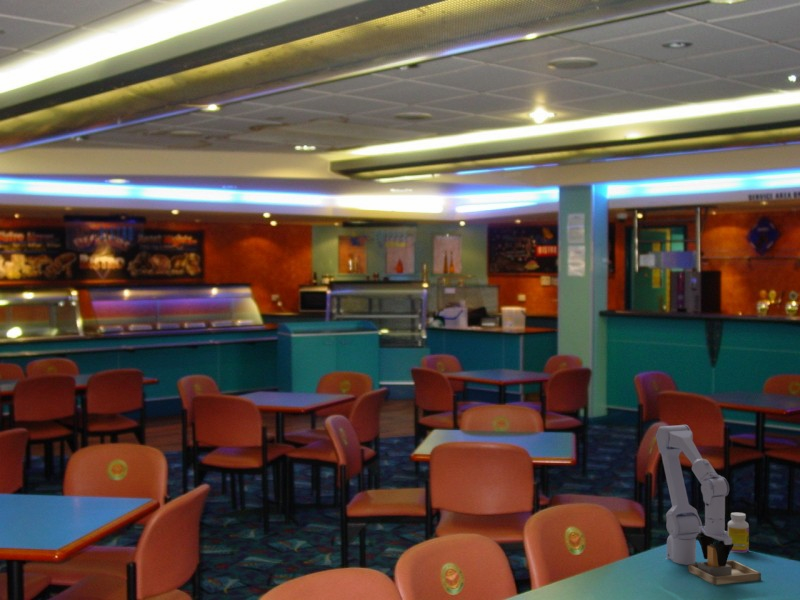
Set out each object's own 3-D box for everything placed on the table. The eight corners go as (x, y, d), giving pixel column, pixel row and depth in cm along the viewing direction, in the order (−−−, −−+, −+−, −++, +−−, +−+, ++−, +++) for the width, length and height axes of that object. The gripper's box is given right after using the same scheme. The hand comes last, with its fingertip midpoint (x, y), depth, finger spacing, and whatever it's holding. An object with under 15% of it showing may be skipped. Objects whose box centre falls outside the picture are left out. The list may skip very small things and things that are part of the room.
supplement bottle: (750, 555, 328) (750, 516, 328) (728, 554, 330) (729, 516, 329) (747, 550, 335) (747, 512, 334) (726, 549, 336) (726, 511, 336)
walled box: (687, 574, 310) (687, 564, 309) (733, 569, 314) (733, 559, 314) (714, 588, 296) (714, 578, 296) (760, 583, 300) (760, 573, 300)
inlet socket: (698, 573, 306) (698, 562, 306) (719, 571, 309) (719, 560, 308) (710, 580, 300) (710, 568, 300) (731, 577, 302) (731, 566, 302)
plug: (707, 568, 305) (707, 543, 305) (718, 567, 306) (719, 542, 306) (713, 571, 303) (713, 546, 302) (724, 570, 304) (724, 545, 303)
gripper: (740, 522, 298) (740, 567, 298) (712, 511, 312) (712, 554, 312) (720, 524, 296) (719, 570, 296) (692, 512, 310) (692, 556, 310)
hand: (714, 562), depth 304 cm, fingers open, 7 cm apart
